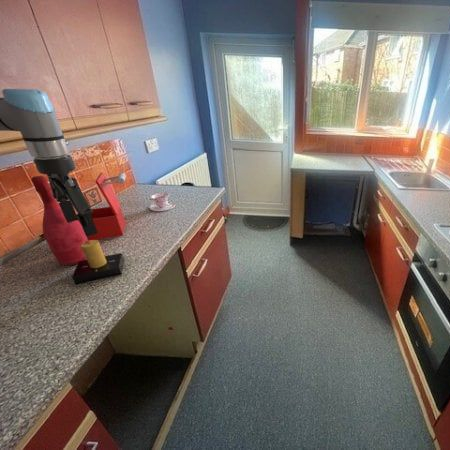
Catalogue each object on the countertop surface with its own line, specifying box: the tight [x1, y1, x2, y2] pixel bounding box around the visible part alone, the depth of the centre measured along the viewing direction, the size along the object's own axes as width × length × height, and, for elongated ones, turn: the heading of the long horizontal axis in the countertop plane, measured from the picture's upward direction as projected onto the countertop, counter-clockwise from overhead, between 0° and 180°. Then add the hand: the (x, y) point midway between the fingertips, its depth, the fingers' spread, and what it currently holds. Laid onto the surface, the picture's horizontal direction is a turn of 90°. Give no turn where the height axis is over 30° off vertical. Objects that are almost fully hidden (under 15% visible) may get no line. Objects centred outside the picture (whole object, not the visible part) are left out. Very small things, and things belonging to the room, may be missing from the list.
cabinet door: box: [94, 171, 127, 215], centre depth 101 cm, size 15×12×8 cm
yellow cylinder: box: [81, 239, 107, 268], centre depth 79 cm, size 4×4×8 cm
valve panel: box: [71, 252, 125, 286], centre depth 82 cm, size 12×9×3 cm
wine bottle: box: [31, 175, 88, 266], centre depth 81 cm, size 10×10×30 cm
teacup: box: [149, 192, 176, 212], centre depth 127 cm, size 12×12×6 cm
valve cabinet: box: [78, 206, 127, 241], centre depth 103 cm, size 14×12×9 cm
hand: (82, 227), depth 75 cm, fingers open, 13 cm apart
